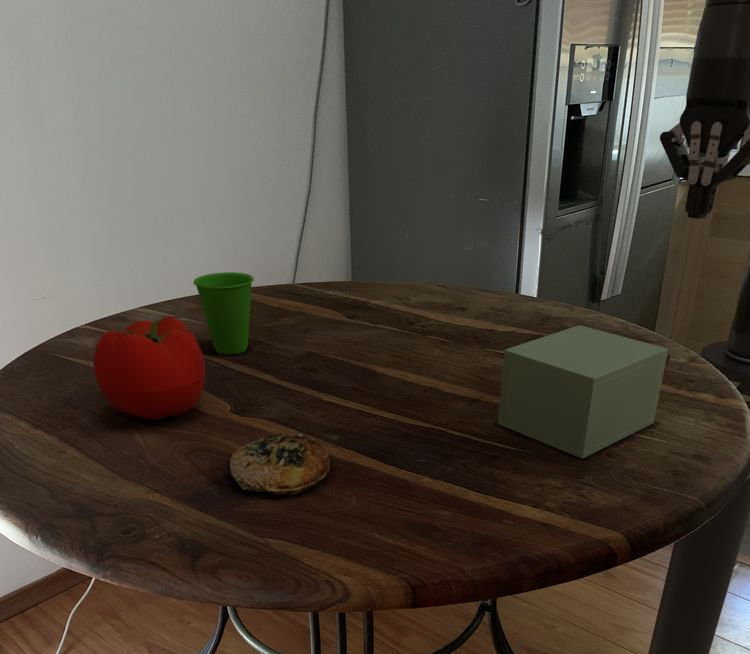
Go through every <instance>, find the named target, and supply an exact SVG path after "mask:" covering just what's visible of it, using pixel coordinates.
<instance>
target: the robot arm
mask: <svg viewBox="0 0 750 654" xmlns="http://www.w3.org/2000/svg"><path fill="white" fill-rule="evenodd" d="M696 34H697V35H696V38H695V44H694V47H693V56H692V62H691V68H690V72H689V79H688V84H687V89H686V95H685V102H686V104H685V108H684V110H683V112H682V113H681V115H680V116H679V122H678V123H677V124H676V125H675V126H673V127H672V128H671V129H669V130H667V131H663V132H661V133H660V135H659V141H660V144H661V145H662V148H663V150H664V152H665V154H666V157H667V158H668V161H669V163H670V165H671V167H672V170H673V172H674V174H675V176H676V178H678V179H683V180H685V181H687V183H688V191H687V196H686V200H685V205H684V209H685V213H687V218H691V219H696V220H701V219H705V218H707V216H708V214H710V213H712V210H713V209H714V204H715V199H716V194H717V189H718V186H719V185H720V184H722V183H724V182H728V181H731V180H734V179H735V178H736V177H737V176H739V174H740V173H741V172H742V171H743V170H744V169H745V168H746V167H747V166H748V165H749V164H750V0H705V1H704V8H703V12H702V15H701V19H700V23H699V26H698V29H697V33H696ZM685 141H686V144H687V146H688V148H689V151H688V150H687V148H686V146H685ZM739 143H740V148H739V150H738V151H737V152H736V153H735V154H733V156H732V157H731V158H730V155H731V151H732V150H733V149H734V148H735V147H736V146H737V145H738V144H739ZM729 158H730V159H729ZM742 279H743V280H742V281H741V282H742V283H741V287H740V290H739V295H738V298H737V303H736V308H735V312H734V316H733V317H732V322H731V326H730V330H729V334H728V338H727V341H728V344H727V347H726V350H725V355H726V356H727V357H728V358H730V359H732V360H734V361H737V362H740V363H744V364H749V365H750V251H749V252H748V257H747V261H746V265H745V269H744V273H743V278H742Z"/></svg>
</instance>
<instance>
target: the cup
mask: <svg viewBox="0 0 750 654" xmlns="http://www.w3.org/2000/svg"><path fill="white" fill-rule="evenodd" d="M254 280H255V278H254V277H253V275H250V274H249V273H245V272H244V273H243V272H234V271H233V272H227V271H226V272H215V273H208V274H204V275H201V276H197V277H196V278H195V279H194V280H193V285H194V286H196V289H197V293H198V296H199V300H200V304H201V306H202V310H203V314H204V317H205V320H206V324H207V327H208V330H209V333H210V334H209V335H210V337H211V341H212V344H213V348H214V349H215V351H216V352H217V353H218V354H220V355H237V354H241V353H244V352H246V351H247V349H248V347H249V334H250V317H251V316H250V314H251V302H252V301H251V299H252V298H251V297H252V284H253V282H254Z"/></svg>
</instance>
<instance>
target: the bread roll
mask: <svg viewBox="0 0 750 654" xmlns="http://www.w3.org/2000/svg"><path fill="white" fill-rule="evenodd" d="M229 462H230V464H229V468H230V473H229V474H230V475H231V476H232V477H233V479H234V480H235V482H237V484H238V486H239V487H241V488H242V490H247V491H252V492H259V493H261V492H263V493H264V492H267V493H268V492H269V493H271V494H275V495H286V496H287V495H296V494H300V493H303V492H305V491H308V490H309V489H311V488H312V487H314V486H315V485H317V484H318V483H320V482H322V480H324V479H325V478H326V477H327V475H328V474H329V472H330V471H331V459H330V456H329V452H327V450H326V448H325V447H324V446H323V444H322V443H321V442H319V440H316V439H315V438H313V437H309V436H306V435H305V434H303V433H297V434H296V435H294V434H287V433H285V434H284V433H277V434H276V435H275V434H270V435H268V436H267V437H260V438H259V439H256V440H254V441H252V442H248V443H246V444H244V445H243V446H241V447H238V449H237V450H236V451H235V452H234V453H233V454H232V455H231V457H230V460H229Z"/></svg>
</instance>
